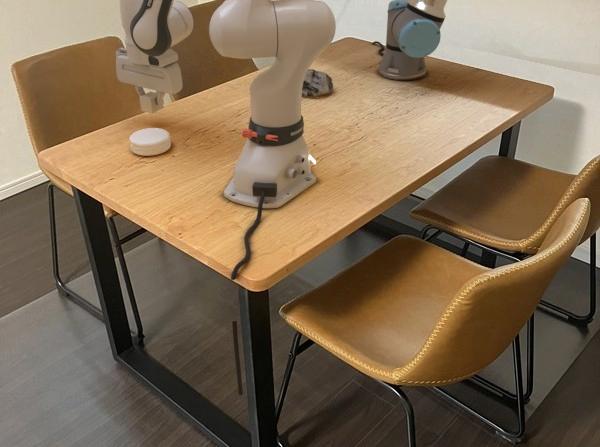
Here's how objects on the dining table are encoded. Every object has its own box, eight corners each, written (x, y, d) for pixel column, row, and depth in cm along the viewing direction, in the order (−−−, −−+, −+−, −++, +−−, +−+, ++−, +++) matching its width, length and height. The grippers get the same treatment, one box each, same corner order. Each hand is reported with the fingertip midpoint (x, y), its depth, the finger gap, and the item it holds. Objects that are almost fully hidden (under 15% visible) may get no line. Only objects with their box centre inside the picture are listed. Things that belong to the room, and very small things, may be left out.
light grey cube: (152, 105, 170) (150, 91, 168) (163, 108, 168) (161, 93, 166) (141, 110, 167) (138, 96, 165) (152, 113, 165) (150, 99, 163)
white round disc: (133, 140, 161) (131, 128, 159) (172, 138, 162) (170, 126, 160) (128, 157, 152) (126, 144, 150) (169, 155, 153) (167, 142, 151)
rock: (337, 91, 188) (337, 68, 185) (314, 100, 182) (313, 76, 179) (303, 81, 198) (303, 59, 194) (280, 89, 192) (279, 66, 188)
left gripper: (106, 49, 162) (115, 99, 169) (166, 61, 153) (173, 114, 160) (123, 43, 166) (131, 92, 174) (183, 54, 157) (189, 106, 165)
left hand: (152, 103), depth 167 cm, fingers closed on light grey cube, 4 cm apart
